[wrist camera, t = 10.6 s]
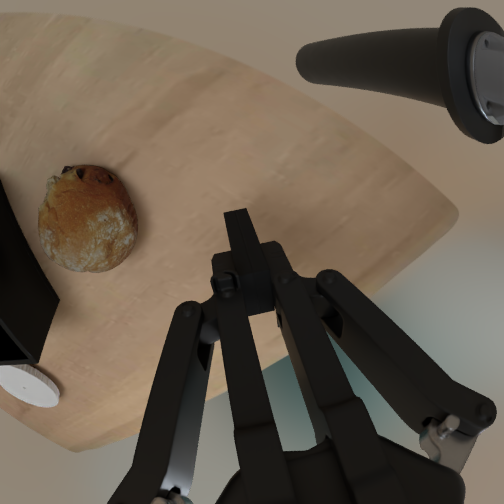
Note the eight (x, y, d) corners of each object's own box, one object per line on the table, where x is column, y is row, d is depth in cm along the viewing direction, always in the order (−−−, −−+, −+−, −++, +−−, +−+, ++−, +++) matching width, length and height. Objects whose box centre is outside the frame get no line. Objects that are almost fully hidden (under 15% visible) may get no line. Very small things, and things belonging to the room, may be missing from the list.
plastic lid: (15, 345, 31) (11, 357, 29) (74, 390, 40) (72, 402, 38) (-14, 361, 32) (-18, 372, 30) (37, 400, 40) (35, 410, 38)
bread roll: (67, 228, 28) (57, 292, 24) (31, 164, 20) (4, 236, 16) (146, 219, 30) (145, 286, 26) (127, 145, 21) (114, 219, 17)
